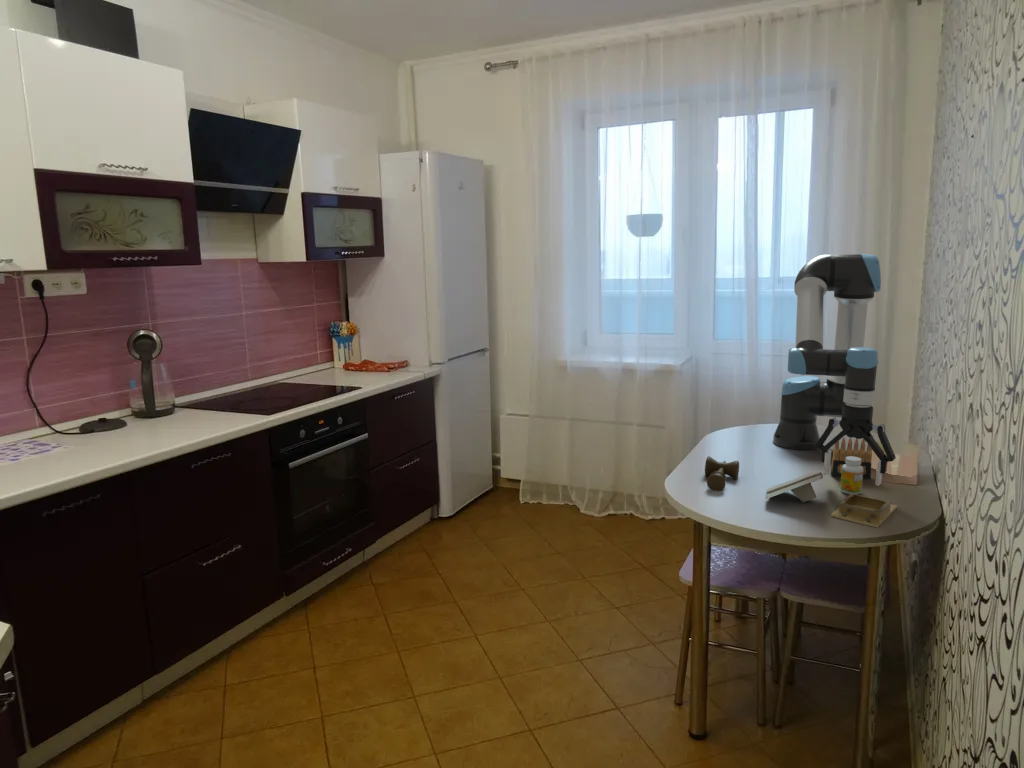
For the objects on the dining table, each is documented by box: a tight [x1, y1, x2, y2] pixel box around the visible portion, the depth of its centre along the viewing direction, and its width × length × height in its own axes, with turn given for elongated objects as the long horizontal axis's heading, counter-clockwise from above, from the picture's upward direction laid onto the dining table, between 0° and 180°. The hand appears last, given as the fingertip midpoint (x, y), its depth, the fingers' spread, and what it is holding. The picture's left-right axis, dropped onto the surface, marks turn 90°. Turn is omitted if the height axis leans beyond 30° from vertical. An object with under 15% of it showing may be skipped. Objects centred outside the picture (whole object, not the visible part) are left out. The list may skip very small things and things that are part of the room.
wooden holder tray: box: [830, 493, 898, 528], centre depth 179 cm, size 17×11×3 cm, turn 137°
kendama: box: [704, 455, 740, 492], centre depth 204 cm, size 6×10×20 cm
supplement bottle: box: [839, 456, 863, 495], centre depth 193 cm, size 5×5×10 cm
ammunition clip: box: [830, 437, 873, 480], centre depth 205 cm, size 11×2×12 cm, turn 74°
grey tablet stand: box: [764, 469, 824, 503], centre depth 187 cm, size 16×9×15 cm
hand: (851, 479), depth 193 cm, fingers open, 13 cm apart
